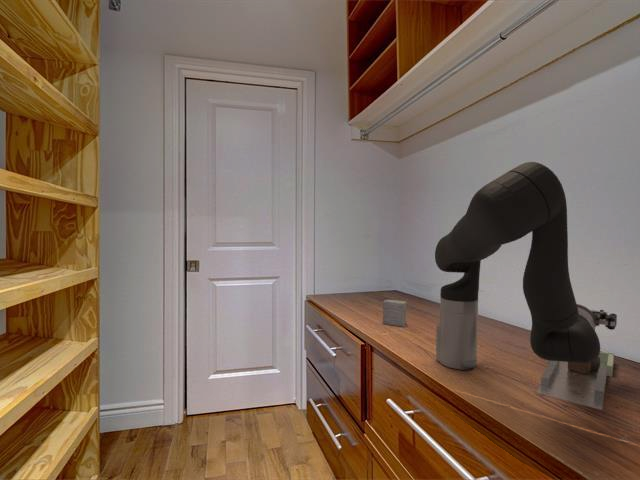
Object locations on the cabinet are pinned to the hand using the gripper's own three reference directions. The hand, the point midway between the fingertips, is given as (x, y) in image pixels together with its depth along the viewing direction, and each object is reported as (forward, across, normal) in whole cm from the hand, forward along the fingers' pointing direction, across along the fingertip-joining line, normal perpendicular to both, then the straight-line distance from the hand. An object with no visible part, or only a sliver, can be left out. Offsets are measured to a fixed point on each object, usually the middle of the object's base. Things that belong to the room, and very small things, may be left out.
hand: (580, 311), depth 90 cm
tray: (+4, 0, +15) cm, 16 cm away
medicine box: (+7, +56, +16) cm, 59 cm away
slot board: (-7, 0, +15) cm, 16 cm away
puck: (+2, -2, +14) cm, 15 cm away
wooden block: (-2, 0, +15) cm, 15 cm away
